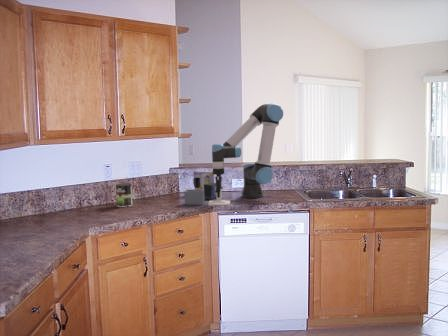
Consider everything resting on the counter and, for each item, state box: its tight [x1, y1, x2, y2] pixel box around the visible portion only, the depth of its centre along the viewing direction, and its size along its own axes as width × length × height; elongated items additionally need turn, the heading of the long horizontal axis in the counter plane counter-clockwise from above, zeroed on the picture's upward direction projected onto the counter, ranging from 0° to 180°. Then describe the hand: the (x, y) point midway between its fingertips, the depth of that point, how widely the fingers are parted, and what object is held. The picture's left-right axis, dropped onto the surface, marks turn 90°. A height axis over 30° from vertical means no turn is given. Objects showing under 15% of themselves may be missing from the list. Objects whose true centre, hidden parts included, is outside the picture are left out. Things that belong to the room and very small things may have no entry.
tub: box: [184, 188, 206, 206], centre depth 314 cm, size 12×8×9 cm, turn 88°
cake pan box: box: [192, 169, 215, 189], centre depth 352 cm, size 19×5×18 cm, turn 43°
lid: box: [207, 199, 231, 206], centre depth 314 cm, size 14×12×3 cm
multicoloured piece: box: [115, 183, 133, 208], centre depth 315 cm, size 10×10×14 cm
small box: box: [204, 182, 217, 201], centre depth 334 cm, size 11×6×10 cm, turn 143°
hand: (219, 200), depth 314 cm, fingers open, 13 cm apart
